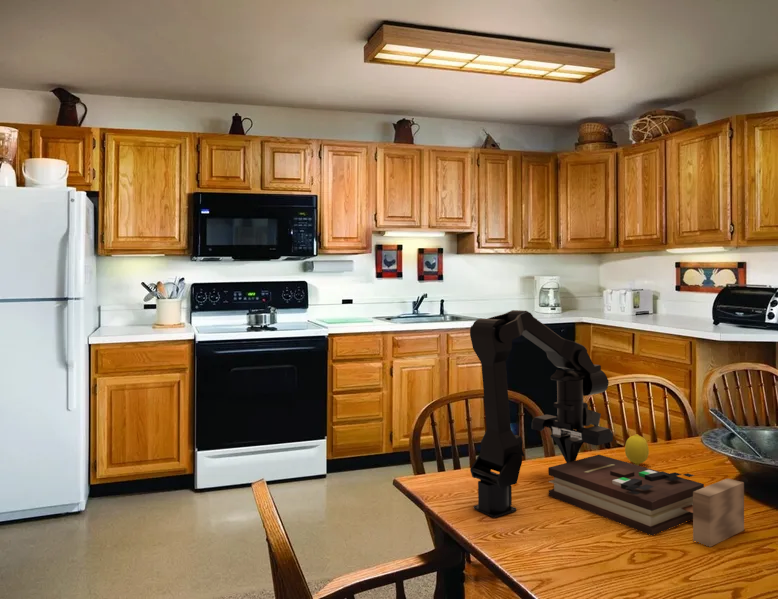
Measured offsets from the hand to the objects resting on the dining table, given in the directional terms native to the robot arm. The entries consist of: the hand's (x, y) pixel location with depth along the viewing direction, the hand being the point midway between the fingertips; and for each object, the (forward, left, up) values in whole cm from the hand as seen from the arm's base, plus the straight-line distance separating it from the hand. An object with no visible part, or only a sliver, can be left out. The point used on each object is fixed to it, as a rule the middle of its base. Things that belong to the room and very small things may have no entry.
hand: (570, 466), depth 139 cm
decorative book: (-1, -14, -5) cm, 15 cm away
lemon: (+25, 0, -5) cm, 25 cm away
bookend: (0, -34, -5) cm, 34 cm away
